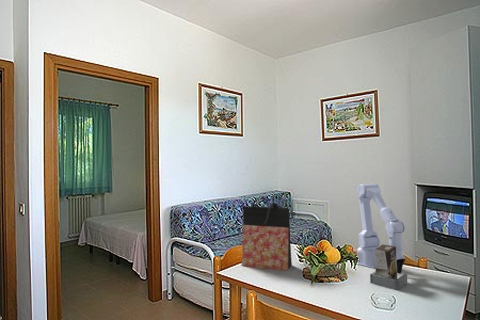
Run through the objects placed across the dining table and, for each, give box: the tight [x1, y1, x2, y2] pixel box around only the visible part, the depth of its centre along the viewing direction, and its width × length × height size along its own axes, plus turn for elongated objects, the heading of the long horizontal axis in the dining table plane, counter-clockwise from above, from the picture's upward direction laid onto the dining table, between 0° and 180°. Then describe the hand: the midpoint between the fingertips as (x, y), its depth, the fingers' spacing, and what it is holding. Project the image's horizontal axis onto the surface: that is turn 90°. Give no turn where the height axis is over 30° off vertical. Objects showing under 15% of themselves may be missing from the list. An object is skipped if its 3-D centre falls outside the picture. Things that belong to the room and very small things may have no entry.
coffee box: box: [374, 244, 398, 280], centre depth 142 cm, size 9×6×16 cm
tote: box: [369, 270, 408, 291], centre depth 142 cm, size 12×12×4 cm
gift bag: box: [241, 202, 296, 272], centre depth 169 cm, size 29×14×35 cm, turn 69°
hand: (396, 274), depth 148 cm, fingers open, 5 cm apart
